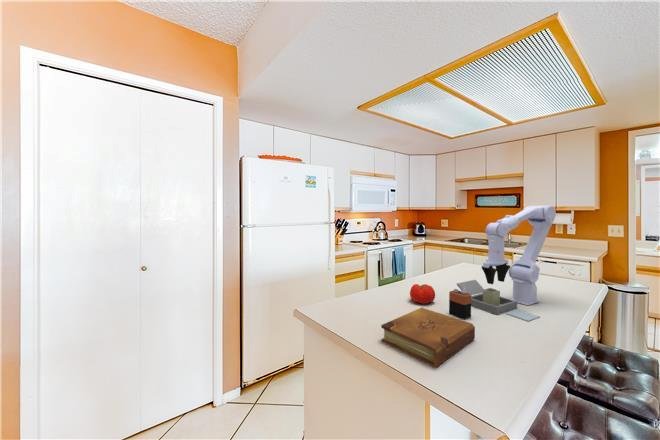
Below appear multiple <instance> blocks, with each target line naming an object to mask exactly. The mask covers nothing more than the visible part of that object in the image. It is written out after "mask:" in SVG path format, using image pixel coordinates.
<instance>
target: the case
mask: <svg viewBox="0 0 660 440" xmlns="http://www.w3.org/2000/svg"><path fill="white" fill-rule="evenodd" d="M456 286H457V287H458V288H459V290H460V291H466V292H467V293H468V294H471V308H474V309H478V310H480V311H484V312H486V313H490V314H493V315H496V316H499V315H501V314H506V313H507V312H510V311H513V310H517V309H518V303H517V301H514V300H510V298H507V297H502V296H500V305H498V306H494V305H490V304H487V303H484V302H483V290H484V289H485V288H483V287H482V285H481V284H480V283H479V282H478V281H477V280H476V279H473V280H468V281H463V282H457V283H456Z"/></svg>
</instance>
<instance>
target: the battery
mask: <svg viewBox="0 0 660 440" xmlns="http://www.w3.org/2000/svg"><path fill="white" fill-rule="evenodd" d="M448 294H449V295H448V297H449V299H448V301H449V303H448V313H449V314H450V315H452V316H454V317H456V318H458V319H461V320H467V319H470V318H471V317H472V306H471V294H468V293H467V292H466V291H461V290H459V289H457V288H453V290H450V291H449V293H448Z"/></svg>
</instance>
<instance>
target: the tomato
mask: <svg viewBox="0 0 660 440" xmlns="http://www.w3.org/2000/svg"><path fill="white" fill-rule="evenodd" d="M409 297H410V299H411V300H412V301H414V302H415V303H419V304H422V305H423V304H424V305H426V304H428V303H431V302H432V303H433V302H434V301H435V298H436V292H435V289H434V288H433V286H432V285H429V284H426V283H424V284H421V285H420V284H418V283H415V284H412V286H411V288H410V291H409Z"/></svg>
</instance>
